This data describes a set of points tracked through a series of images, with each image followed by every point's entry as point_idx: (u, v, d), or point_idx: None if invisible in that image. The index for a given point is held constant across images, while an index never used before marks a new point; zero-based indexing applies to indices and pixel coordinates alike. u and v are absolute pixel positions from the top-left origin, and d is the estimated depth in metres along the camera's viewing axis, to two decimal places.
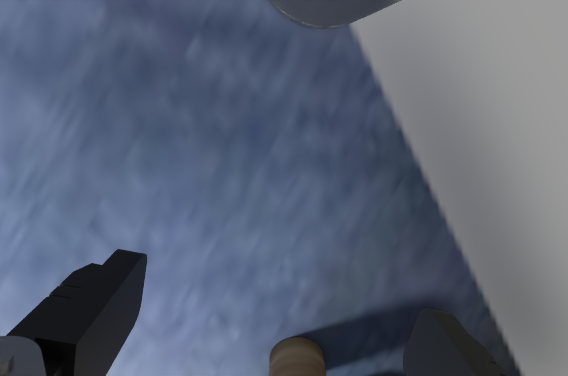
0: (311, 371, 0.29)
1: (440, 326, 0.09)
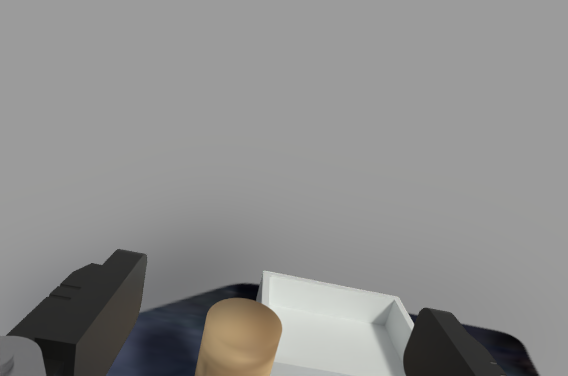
0: None
1: (440, 326, 0.09)
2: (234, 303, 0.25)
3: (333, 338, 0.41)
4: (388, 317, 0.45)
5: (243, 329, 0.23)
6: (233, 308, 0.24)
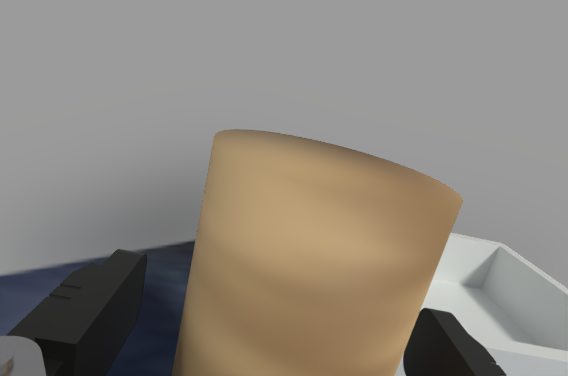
0: None
1: (440, 326, 0.09)
2: (290, 138, 0.09)
3: None
4: (489, 274, 0.29)
5: (339, 168, 0.07)
6: (289, 141, 0.08)
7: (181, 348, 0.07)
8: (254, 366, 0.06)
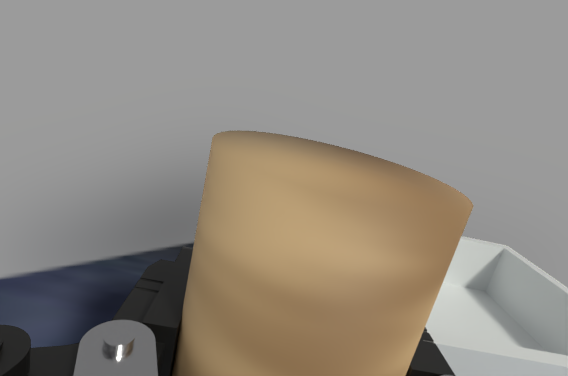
0: None
1: None
2: (291, 140, 0.09)
3: None
4: (494, 277, 0.29)
5: (343, 172, 0.06)
6: (291, 143, 0.08)
7: (178, 359, 0.07)
8: None
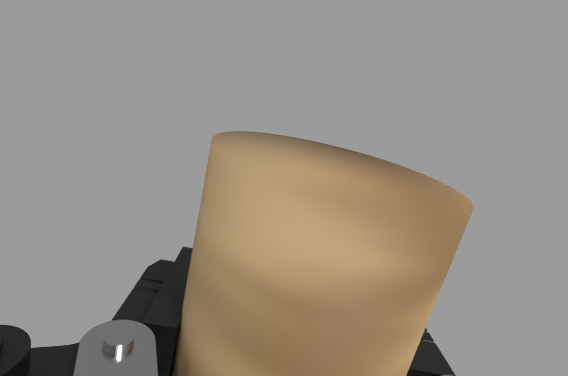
0: None
1: None
2: (291, 140, 0.09)
3: None
4: None
5: (343, 173, 0.06)
6: (291, 144, 0.08)
7: (178, 361, 0.07)
8: None
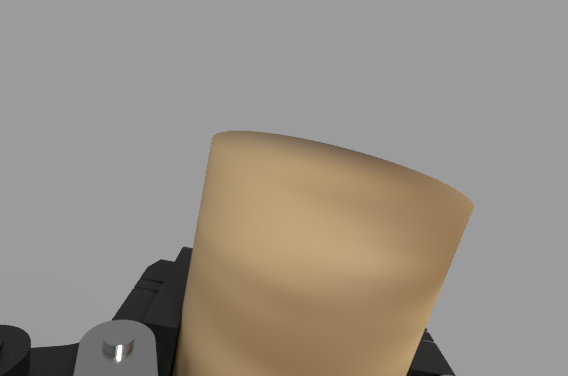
0: None
1: None
2: (291, 140, 0.09)
3: None
4: None
5: (343, 172, 0.06)
6: (291, 143, 0.08)
7: (178, 360, 0.07)
8: None
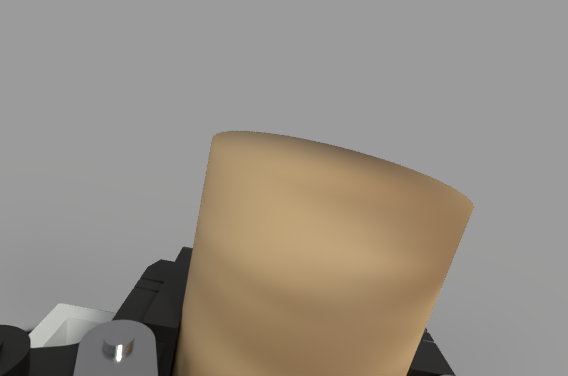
0: None
1: None
2: (291, 140, 0.09)
3: None
4: None
5: (343, 172, 0.06)
6: (291, 144, 0.08)
7: (178, 360, 0.07)
8: None
